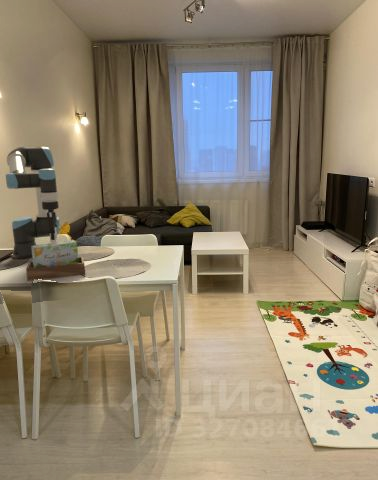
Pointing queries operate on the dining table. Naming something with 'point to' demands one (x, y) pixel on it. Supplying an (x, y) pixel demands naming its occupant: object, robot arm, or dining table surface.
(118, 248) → the dining table surface
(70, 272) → the dark brown wooden tray
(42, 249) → the snack box
